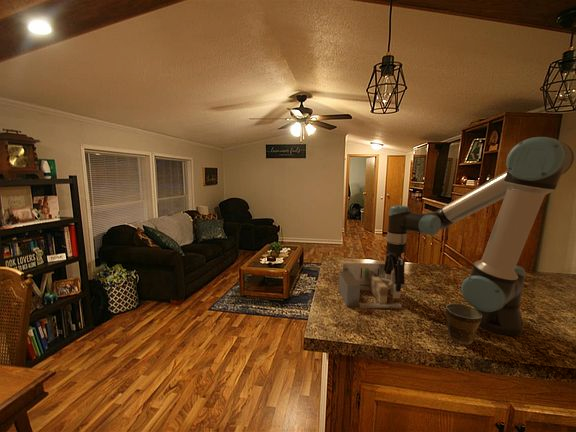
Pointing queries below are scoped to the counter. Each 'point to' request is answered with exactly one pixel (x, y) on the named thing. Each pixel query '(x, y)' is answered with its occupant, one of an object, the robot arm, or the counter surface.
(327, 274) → the counter surface
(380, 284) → the gauge pad
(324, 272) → the counter surface
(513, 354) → the counter surface
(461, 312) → the ceramic cup
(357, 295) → the gauge frame
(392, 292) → the pipe connector
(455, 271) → the counter surface
